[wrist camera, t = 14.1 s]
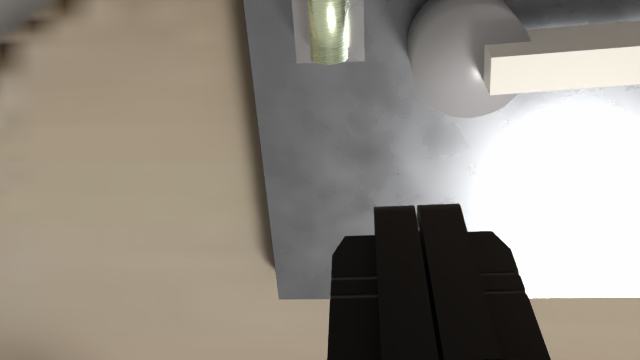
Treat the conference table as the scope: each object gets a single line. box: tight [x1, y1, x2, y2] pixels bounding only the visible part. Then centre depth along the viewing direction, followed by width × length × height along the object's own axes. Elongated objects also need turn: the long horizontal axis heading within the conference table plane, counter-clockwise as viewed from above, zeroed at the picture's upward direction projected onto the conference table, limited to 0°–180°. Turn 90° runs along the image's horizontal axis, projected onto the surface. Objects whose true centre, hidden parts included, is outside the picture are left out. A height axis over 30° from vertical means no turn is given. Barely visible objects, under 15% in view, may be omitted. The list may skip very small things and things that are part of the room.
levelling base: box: [243, 0, 640, 299], centre depth 30 cm, size 24×24×6 cm
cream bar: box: [407, 0, 640, 118], centre depth 26 cm, size 16×5×4 cm, turn 96°
